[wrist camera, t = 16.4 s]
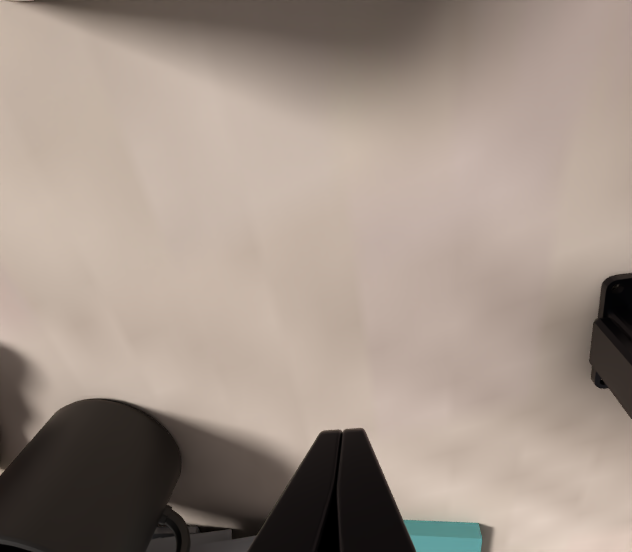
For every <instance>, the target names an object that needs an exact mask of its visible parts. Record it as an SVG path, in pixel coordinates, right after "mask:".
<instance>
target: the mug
mask: <svg viewBox="0 0 632 552" xmlns="http://www.w3.org/2000/svg"><path fill="white" fill-rule="evenodd" d="M180 472H181V456H180V452H179V449H178V447H177V445H176V443H175V441H174V440H173V438H172V437H171V435H170V434H169V433H168V432H167V431H166V430H165V429H164V428H163V427H162V426H161V425H160V424H159V423H158V422H157V421H155V420H154V419H152V418H151V417H149V416H148V415H146V414H145V413H143V412H141V411H139V410H137V409H135V408H132V407H130V406H127V405H124V404H121V403H118V402H114V401H108V400H98V399H91V400H82V401H77V402H74V403H72V404H69V405H67V406H65V407H63V408H61V409H60V410H58V411H57V412H56V413H55V414H54V415H53V416H52V417H51V418H50V419H49V421H48V422H47V423H46V424H45V425H44V426H43V427H42V429H41V430H40V431H39V432H38V433H37V434H36V435H35V437H34V438H33V439H32V440H31V441H30V442H29V444H28V445H27V446H26V447H25V448H24V449H23V450H22V452H21V453H20V454H19V455H18V456H17V457H16V458H15V460H14V461H13V462H12V463H11V464H10V465H9V466H8V468H7V469H6V470H5V471H4V472H3V473H2V474H1V476H0V552H146V550H147V548H148V545H149V543H150V541H151V539H152V536H153V534H154V532H155V530H156V528H157V525H158V524H160V525H164V524H165V525H166V526H168V527H169V528H170V529H171V530H172V532H173V534H174V536H175V539H176V551H175V552H190V545H191V540H190V533H189V529H188V527H187V525H186V523H185V521H184V520H183V518H182V517H181V516H180V515H179V514H178V513H176V512H175V511H174V510H172V507H171V506H169V505H167V503H168V501H169V498H170V496H171V494H172V492H173V489H174V487H175V485H176V483H177V480H178V478H179V476H180Z"/></svg>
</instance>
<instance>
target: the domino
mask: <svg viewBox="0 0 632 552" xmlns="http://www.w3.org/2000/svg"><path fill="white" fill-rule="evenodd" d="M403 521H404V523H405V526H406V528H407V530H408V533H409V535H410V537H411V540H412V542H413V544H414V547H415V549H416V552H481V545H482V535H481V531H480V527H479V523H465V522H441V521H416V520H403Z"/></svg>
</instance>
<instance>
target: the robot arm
mask: <svg viewBox="0 0 632 552" xmlns="http://www.w3.org/2000/svg"><path fill="white" fill-rule="evenodd" d="M617 284H619V286H618V287H617V288H616V289H613V290H612V288H613V287H614V286H615V285H617ZM589 361H590V363H591V365H592V372H591V380H592V381H593V382H594V384H595V385H596V386H597V387H598V388H603V389H605V388H609V389H610V391H611V392H612V393H613V395H614V396H615V397H616V399H617V400H618V401H619V403H620V404H621V405H622V407H623V408H624V409H625V411H626V412H627V414H628V415H629V416H630V418H631V419H632V274H623V275H615V276H611V277H609V278H607V279H606V280H605V281H604V282H603V284H602V287H601V296H600V304H599V313H598V318H597V319H596V320H595V322H594V323H593V332H592V341H591V350H590V359H589ZM601 379H602V380H601ZM247 552H416V549H415V547H414V544H413V542H412V540H411V537H410V535H409V533H408V530H407V528H406V526H405V523H404V521H403V519H402V516H401V514H400V512H399V509H398V507H397V505H396V502H395V500H394V498H393V495H392V493H391V491H390V488H389V486H388V484H387V481H386V479H385V476H384V474H383V472H382V469H381V467H380V465H379V462H378V460H377V458H376V455H375V453H374V451H373V448H372V446H371V444H370V441H369V439H368V437H367V434H366V432H365V430H364V429H363V428H354V429H345V430H344V431H343V432H342V431H341V430H325V431H322V432H321V433H320V434H319V435H318V437H317V438H316V440H315V442H314V443H313V445H312V447H311V448H310V450H309V451H308V453H307V455H306V456H305V458H304V459H303V461H302V463H301V464H300V466H299V468H298V469H297V471H296V472H295V474H294V476H293V477H292V479H291V481H290V482H289V484H288V485H287V487H286V489H285V490H284V492H283V493H282V495H281V497H280V498H279V500H278V502H277V503H276V505H275V506H274V508H273V510H272V511H271V513H270V515H269V516H268V518H267V519H266V521H265V523H264V524H263V526H262V527H261V529H260V531H259V532H258V534H257V536H256V537H255V539H254V540H253V542H252V544H251V545H250V547H249V548H248V550H247Z"/></svg>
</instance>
